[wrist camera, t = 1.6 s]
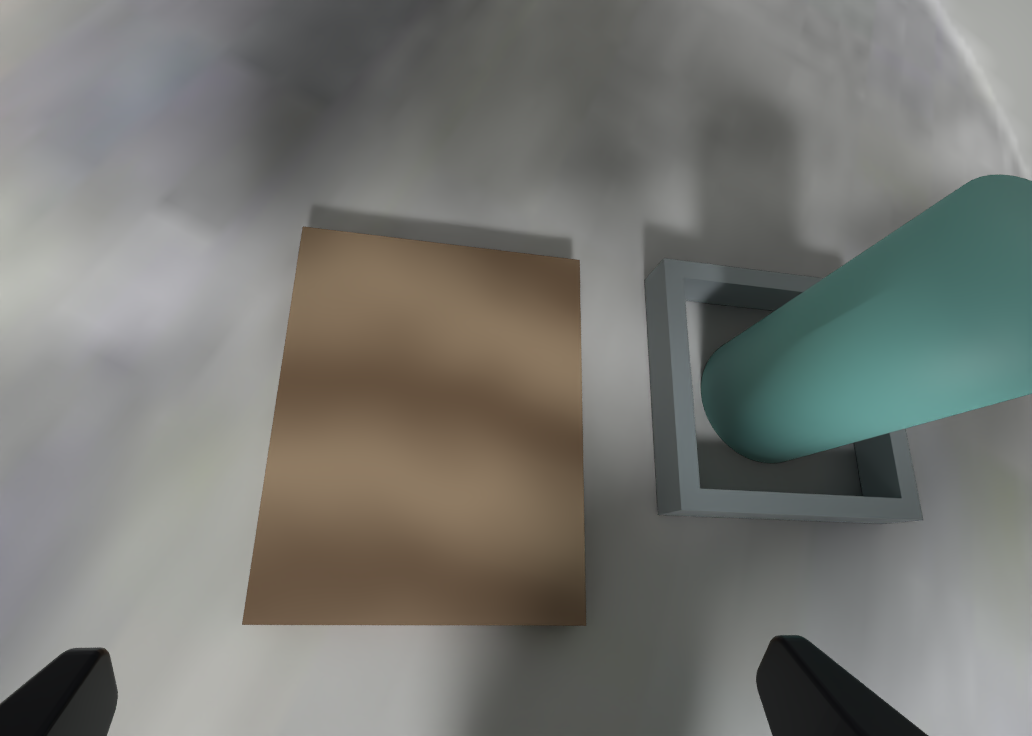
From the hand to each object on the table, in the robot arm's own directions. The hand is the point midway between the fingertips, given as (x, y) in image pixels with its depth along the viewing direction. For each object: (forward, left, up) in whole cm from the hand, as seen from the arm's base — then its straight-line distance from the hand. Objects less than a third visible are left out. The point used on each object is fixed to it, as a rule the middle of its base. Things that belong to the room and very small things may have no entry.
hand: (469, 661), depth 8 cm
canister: (+8, -14, -13) cm, 21 cm away
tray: (+8, -14, -13) cm, 21 cm away
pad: (+6, 0, -13) cm, 15 cm away
